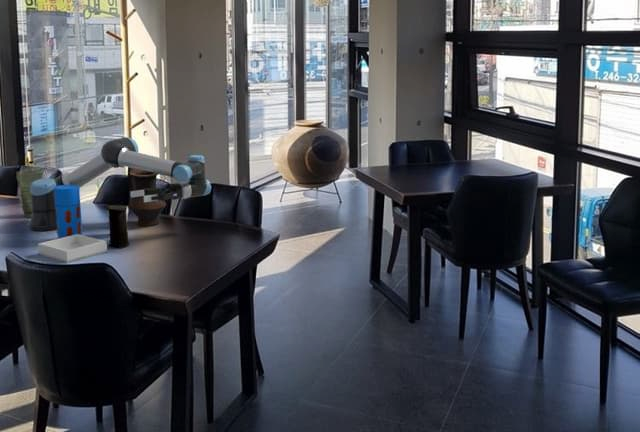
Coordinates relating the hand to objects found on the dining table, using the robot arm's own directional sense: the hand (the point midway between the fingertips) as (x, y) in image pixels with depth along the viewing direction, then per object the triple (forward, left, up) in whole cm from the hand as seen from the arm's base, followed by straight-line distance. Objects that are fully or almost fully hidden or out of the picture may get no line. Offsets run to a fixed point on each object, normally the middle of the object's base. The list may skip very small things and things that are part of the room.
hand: (137, 196), depth 333 cm
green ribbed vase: (-85, +2, -21) cm, 87 cm away
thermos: (-29, -16, -21) cm, 39 cm away
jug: (-25, +26, -21) cm, 41 cm away
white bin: (-9, -29, -21) cm, 37 cm away
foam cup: (-19, +4, -21) cm, 29 cm away
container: (-3, -9, -21) cm, 24 cm away
